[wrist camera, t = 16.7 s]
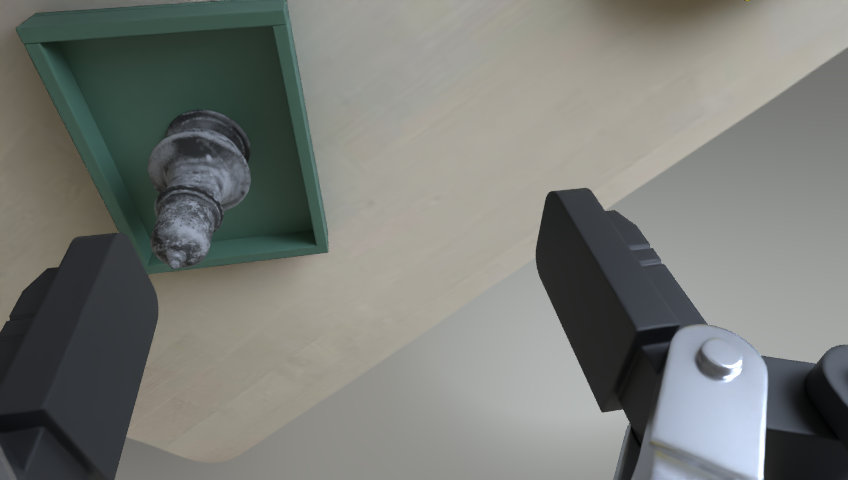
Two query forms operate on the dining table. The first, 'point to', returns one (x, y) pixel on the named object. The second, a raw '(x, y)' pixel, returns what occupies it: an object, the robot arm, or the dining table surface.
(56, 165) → the dining table surface
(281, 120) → the tray
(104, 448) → the robot arm
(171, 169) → the salt shaker
